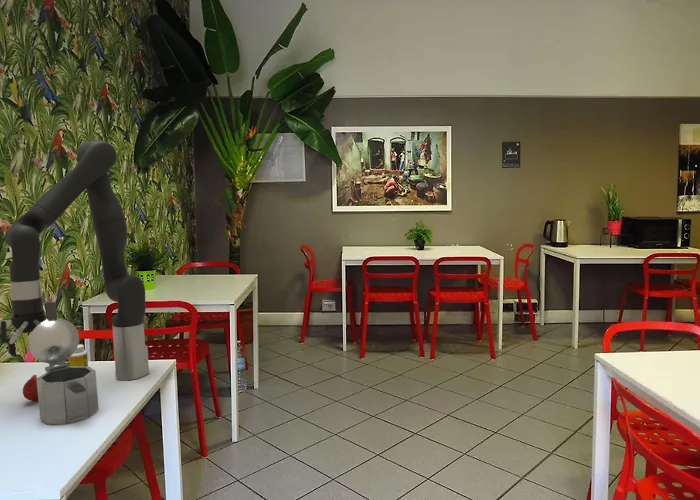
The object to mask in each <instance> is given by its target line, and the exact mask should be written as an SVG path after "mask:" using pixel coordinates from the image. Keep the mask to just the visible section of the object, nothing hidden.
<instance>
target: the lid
mask: <svg viewBox="0 0 700 500" xmlns="http://www.w3.org/2000/svg"><path fill="white" fill-rule="evenodd" d="M44 308H45V315H46V319H45V321H43V322H41V323H39V324H38V325H37V326H36V327H35V328H34V329H33V331H32V332H30V335H29V337H28V347H29V351H30V353H31V354H32V356H33V357H34V358H35V359H36V360H37V361H40V362H42V363H45V364H48V366H46V367H45V366H44V371H45V372H47V371H51V370H55V369H59V368H64V367H69V366H70V362H68V361H67V362H66V360H68V358H69V357H70V356H71V355H72V354H73V353H74V352H75V350H76V349H77V346H78V345H79V343H80V336H79V335H80V334H79V331H78V328H77V327H76V326H75V325H74V324H73V323H72V322H71V321H69V320H67V319H65V318H61V317H60V318H58V313H57V305H56V301H50V302H45V303H44Z"/></svg>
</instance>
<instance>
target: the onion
mask: <svg viewBox="0 0 700 500" xmlns="http://www.w3.org/2000/svg"><path fill="white" fill-rule="evenodd" d="M37 378H38V376H37V375H36V374H32V376H31V377H30V378H29V379H28V380H27V381H26V382H25V383H24V385H23V388H22V395H23V397H24V399H26V400H28V401H30V402H32V403H37V402H38V403H39V401H38V390H37Z"/></svg>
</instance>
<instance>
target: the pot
mask: <svg viewBox="0 0 700 500" xmlns="http://www.w3.org/2000/svg"><path fill="white" fill-rule="evenodd" d="M37 390H38V410H39V412H38V413H39V420H40V422H41V423H43V424H45V425H47V426H49V425H50V426H61V425H69V424H74V423H77V422H80V421H84V420H86V419H89V418H91V417H92V416H94V415H95V414H96V413H97V412H98V410H99V400H98V399H99V397H98V387H97V372H96V370H95V369H93V368H92V367H90V366H89V365H88V366H75V367H69V366H68V367H64V368H59V369H55V370H51V371H45V373H43V374H41V375H40V376H37Z"/></svg>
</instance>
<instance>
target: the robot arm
mask: <svg viewBox="0 0 700 500" xmlns="http://www.w3.org/2000/svg"><path fill="white" fill-rule="evenodd" d="M117 157H118V155H117V151H116V148H115V147H114V146H113V145H112V144H111V143H110V142H107V141H105V140H102V139H101V140H99V139H98V140H97V139H96V140H91V141H90V140H89V141H85V142H83V143H81V144H80V145H79V146H78V147H77V150H76V161H77V164H76V165H75V167H74V168H72V169H71V171H69V173H67V174H66V175H65V176H64V177H63V178H62V179H60V180H59V181H57V182H56V183H54V184H53V185H52V186H51V187H50V188H49V189H48V190H46V191H45V193H43V194H42V196H40V197H39V199H38V200H37V201H36V202H35V203H34V204H33V205H32V206H31V207H30V209H29V210H28V211H27V212H25V213H24V214H23V215H22V216H20V217H19V218H18V219H17V220H16V221H15V222H13V223H12V224H11V225H10V226H9V228H7V231H6V232H5V235H4V240H5V243H6V245H7V246H9V248H11V259H12V260H11V262H10V263H9V278H10V289H9V290H10V304H11V318H10V319H8V320H7V319H6V320H3V319H0V342H1V343H2V344H7V350H8V355H9V356H11V357H13V358H16V357H17V347H16V343H15V342H16V340H17V339H18V338H19V337H20V335H21V334H22V333H23V334H28V333H31V332H32V331H33V329H34V328H35V327H36V326H37V325H38V324H39V323H41V322H43V321H45V320H47V318H46V313H45V312H44V303H43V301H44V300H43V294H44V293H43V288H42V283H41V275H40V274H41V272H40V265H39V261H40V253H41V238H40V234H41V233H43V231H44V230H45V229H46V228H49V227H51V226H52V225H53V224H55V223H56V221H57V220H59V219H60V217H61V216H62V215H63V214H64V213H65V212H66V210H67V209H68V208H69V207H70V206H71V205H72V204H73V203H74V201H76V200H77V199H78V197H79V196H81V194H82V193H83V192H84V191H85V190H86V192H87V194H86V195H87V199H88V204H89V209H90V212H91V219H92V225H93V230H94V233H95V234H94V235H95V236H96V240H97V245H98V249H99V250H98V251H99V254H100V259H101V263H102V264H101V265H102V271H103V279H104V280H103V283H104V288H105V293H106V296H107V297H108V299H110V300H111V301H113V302H115V303H117V313H116V314H115V315H113V316H112V320H111V322H112V323H111V325H112V337H113V339H112V340H113V353H114V366H115V371H114V372H115V378H116V380H119V381H131V380H136V379H140V378H143V377H145V376H146V375H149V374H150V367H149V365H150V364H149V353H148V352H149V350H148V348H149V347H148V345H147V344H145V342H146V341H145V328H144V327H145V326H144V317H145V315H146V288H145V284H144V282H143V280H142V279H141V278H140V277H139V276H136V275H132V274H129V272H128V269H127V265H126V261H125V260H126V259H125V258H126V257H125V252H126V251H125V250H126V246H127V242H128V225H127V222H126V221H127V220H126V216H125V213H124V210H123V208H122V205H121V203H120V201H119V200H118V198H117V196H116V194H115V192H114V190H113V188H112V186H111V185H112V184H111V182H110V177H109V176H110V175H109V170H110V169H111V168H112V167H114V166H115V164H116V162H117V160H118V159H117ZM10 325H12V326H13V327H14V328H13V329H12V330H11V332H10V334H9V336H8V337H7V329H9V327H10Z"/></svg>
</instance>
